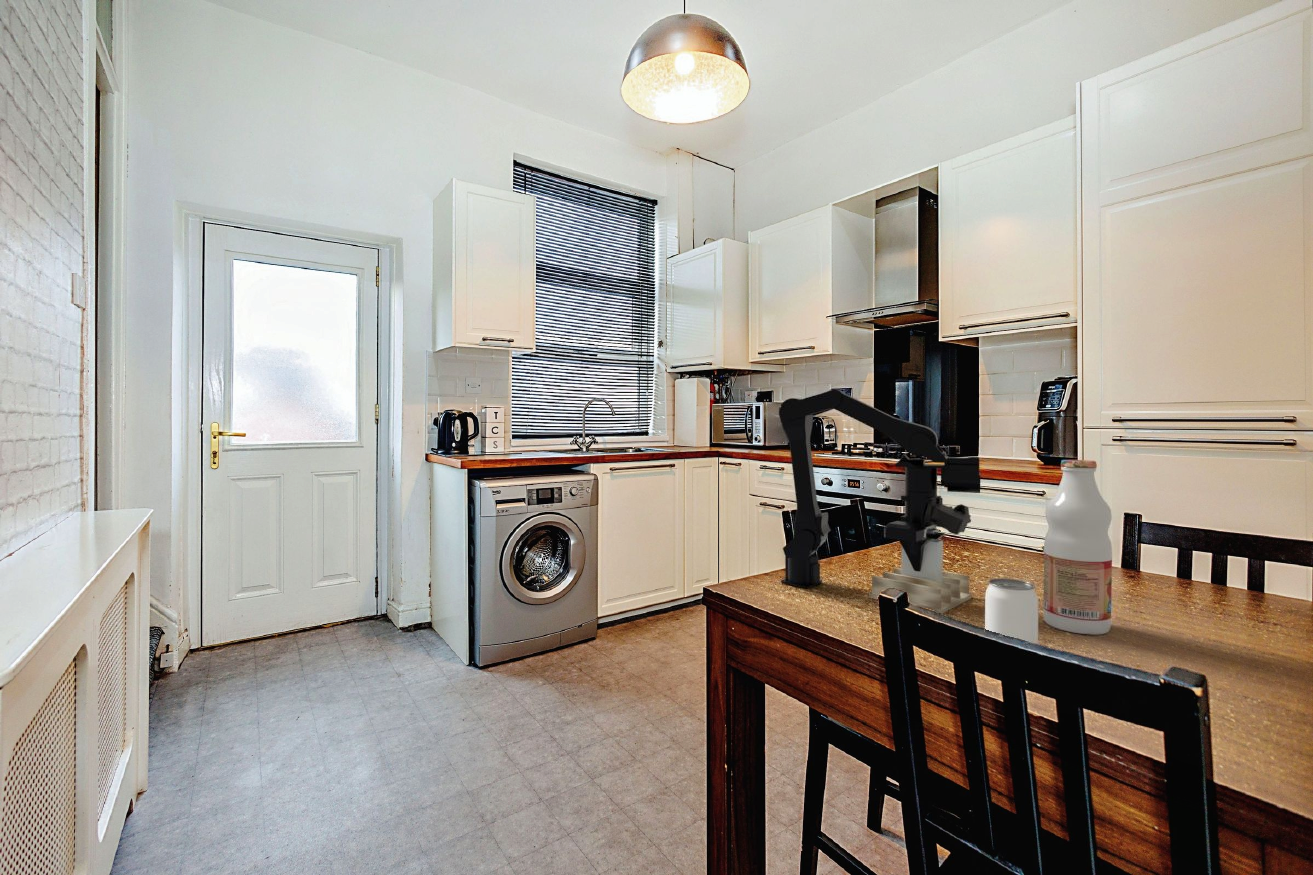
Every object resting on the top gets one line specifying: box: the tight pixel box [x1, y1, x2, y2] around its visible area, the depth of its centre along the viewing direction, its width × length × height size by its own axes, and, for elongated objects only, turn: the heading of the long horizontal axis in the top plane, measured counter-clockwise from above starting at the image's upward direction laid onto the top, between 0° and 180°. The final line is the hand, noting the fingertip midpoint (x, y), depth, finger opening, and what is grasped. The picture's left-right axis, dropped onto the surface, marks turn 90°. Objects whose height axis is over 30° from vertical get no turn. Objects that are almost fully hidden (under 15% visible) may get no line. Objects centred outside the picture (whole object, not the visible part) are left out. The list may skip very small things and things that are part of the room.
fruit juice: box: [1042, 459, 1113, 636], centre depth 101 cm, size 9×9×28 cm
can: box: [984, 577, 1039, 645], centre depth 85 cm, size 6×6×12 cm
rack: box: [868, 567, 974, 615], centre depth 118 cm, size 14×14×4 cm
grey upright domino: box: [900, 539, 944, 583], centre depth 118 cm, size 7×2×10 cm, turn 43°
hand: (920, 569), depth 118 cm, fingers closed on grey upright domino, 2 cm apart
